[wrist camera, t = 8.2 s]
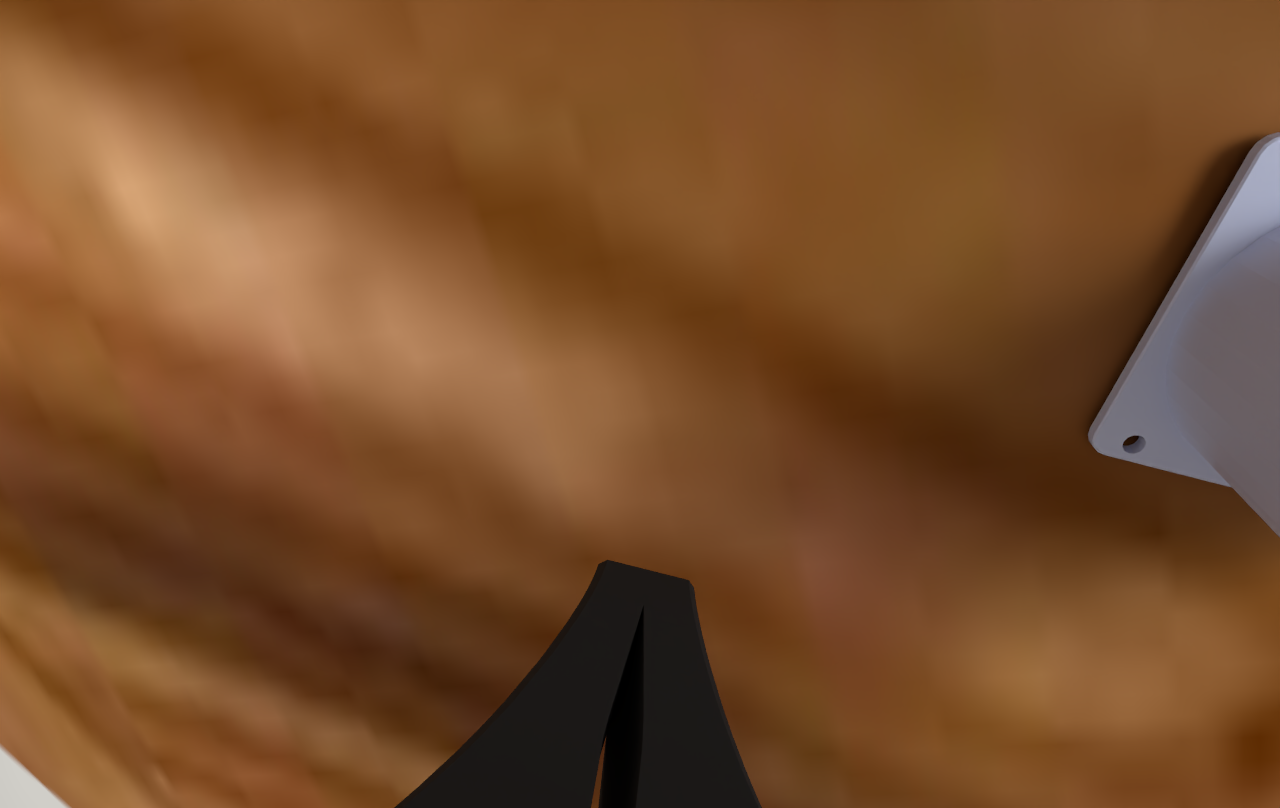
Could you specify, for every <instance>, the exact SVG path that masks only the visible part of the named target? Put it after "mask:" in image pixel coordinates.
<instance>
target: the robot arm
mask: <svg viewBox="0 0 1280 808" xmlns="http://www.w3.org/2000/svg"><path fill="white" fill-rule="evenodd" d="M1134 435H1136V436H1139V438H1138V440H1137V441H1136V442H1135V443H1134V444H1131V445H1128V446H1126V445H1123V442H1124V441H1125V440H1126V439H1127V438H1128V437H1131V436H1134ZM1088 438H1089V442H1090V443H1091V444H1092V446H1093V447H1094V448H1095V449H1096V451H1097V452H1099V453H1101V454H1103V455H1106V456H1110V457H1114V458H1118V459H1122V460H1126V461H1130V462H1134V463H1138V464H1142V465H1146V466H1150V467H1153V468H1157V469H1161V470H1165V471H1169V472H1173V473H1177V474H1181V475H1185V476H1189V477H1193V478H1197V479H1201V480H1204V481H1208V482H1212V483H1216V484H1220V485H1224V486H1228V487H1232V488H1233V489H1234V490H1235V491H1236V492H1237V493H1238V494H1239V495H1240V496H1241V497H1242V498H1243V499H1244V500H1245V502H1246V503H1247V504H1248V505H1249V506H1250V507H1251V508H1252V509H1253V510H1254V511H1255V512H1256V513H1257V514H1258V515H1259V516H1260V517H1261V518H1262V519H1263V520H1264V521H1265V523H1266V524H1267V525H1268V526H1269V527H1270V528H1271V529H1272V530H1273V531H1274V532H1275V533H1276V534H1277V535H1278V536H1279V537H1280V133H1274V134H1271V135H1267V136H1265V137H1264V138H1262V139H1261V140H1259V141H1258V142H1256V144H1255V145H1254V146H1253V147H1252V149H1251V150H1250V151H1249V153H1248V155H1247V156H1246V158H1245V160H1244V161H1243V163H1242V165H1241V167H1240V168H1239V170H1238V172H1237V174H1236V175H1235V177H1234V179H1233V181H1232V182H1231V184H1230V186H1229V187H1228V189H1227V191H1226V193H1225V194H1224V196H1223V198H1222V200H1221V201H1220V203H1219V205H1218V207H1217V208H1216V210H1215V212H1214V214H1213V215H1212V217H1211V219H1210V220H1209V222H1208V224H1207V226H1206V227H1205V229H1204V231H1203V233H1202V234H1201V236H1200V238H1199V240H1198V241H1197V243H1196V245H1195V246H1194V248H1193V250H1192V252H1191V253H1190V255H1189V257H1188V259H1187V260H1186V262H1185V264H1184V266H1183V267H1182V269H1181V271H1180V273H1179V274H1178V276H1177V278H1176V279H1175V281H1174V283H1173V285H1172V286H1171V288H1170V290H1169V292H1168V293H1167V295H1166V297H1165V299H1164V300H1163V302H1162V304H1161V305H1160V307H1159V309H1158V311H1157V312H1156V314H1155V316H1154V318H1153V319H1152V321H1151V323H1150V325H1149V326H1148V328H1147V330H1146V332H1145V333H1144V335H1143V337H1142V338H1141V340H1140V342H1139V344H1138V345H1137V347H1136V349H1135V351H1134V352H1133V354H1132V356H1131V358H1130V359H1129V361H1128V363H1127V364H1126V366H1125V368H1124V370H1123V371H1122V373H1121V375H1120V377H1119V378H1118V380H1117V382H1116V384H1115V385H1114V387H1113V389H1112V391H1111V392H1110V394H1109V396H1108V397H1107V399H1106V401H1105V403H1104V404H1103V406H1102V408H1101V410H1100V411H1099V413H1098V415H1097V417H1096V418H1095V420H1094V422H1093V423H1092V425H1091V427H1090V429H1089V432H1088ZM606 734H607V735H606ZM605 738H606V743H605V752H604V762H603V771H602V780H601V789H600V798H599V808H762V807H761V805H760V803H759V800H758V798H757V796H756V794H755V791H754V789H753V787H752V784H751V782H750V779H749V777H748V774H747V772H746V770H745V767H744V765H743V762H742V759H741V757H740V754H739V751H738V749H737V746H736V743H735V741H734V738H733V736H732V733H731V730H730V727H729V724H728V721H727V718H726V716H725V713H724V710H723V706H722V703H721V700H720V697H719V694H718V690H717V687H716V684H715V681H714V678H713V674H712V671H711V667H710V664H709V660H708V656H707V652H706V648H705V644H704V640H703V636H702V632H701V627H700V623H699V618H698V613H697V607H696V600H695V593H694V587H693V586H692V584H691V583H690V581H689V580H686V579H682V578H678V577H674V576H670V575H666V574H662V573H658V572H654V571H650V570H646V569H642V568H638V567H634V566H630V565H626V564H622V563H618V562H614V561H610V560H607V561H604V562H602V563H600V564H598V567H597V570H596V573H595V575H594V577H593V579H592V582H591V584H590V586H589V588H588V589H587V591H586V593H585V595H584V597H583V598H582V600H581V602H580V603H579V605H578V606H577V608H576V609H575V611H574V613H573V614H572V616H571V617H570V619H569V620H568V622H567V623H566V625H565V626H564V627H563V629H562V630H561V632H560V633H559V634H558V636H557V637H556V638H555V640H554V641H553V643H552V644H551V645H550V647H549V648H548V649H547V651H546V652H545V654H544V655H543V656H542V657H541V659H540V660H539V661H538V663H537V664H536V665H535V666H534V667H533V669H532V670H531V671H530V672H529V673H528V675H527V676H526V677H525V678H524V679H523V680H522V682H521V683H520V684H519V685H518V686H517V688H516V689H515V690H514V691H513V692H512V693H511V695H510V696H509V697H508V698H507V699H506V701H505V702H504V703H503V704H502V705H501V706H500V707H499V708H498V709H497V710H496V712H495V713H494V714H493V715H492V716H491V717H490V718H489V719H488V720H487V721H486V722H485V723H484V724H483V725H482V726H481V727H480V729H479V730H478V731H477V732H476V733H475V734H474V735H473V736H472V737H471V738H470V739H469V740H468V741H467V742H466V743H465V744H464V745H463V746H462V747H461V748H460V749H459V750H458V751H457V752H456V753H454V754H453V755H452V756H451V757H450V758H449V759H448V760H447V761H446V762H445V763H444V764H443V765H442V766H440V767H439V768H438V769H437V770H436V771H435V772H434V773H433V774H432V775H431V776H430V777H429V778H427V779H426V780H425V781H424V782H423V783H422V784H421V785H420V786H419V787H418V788H417V789H415V790H414V791H413V792H412V793H411V794H410V795H408V796H407V797H406V798H405V799H404V800H403V801H402V802H400V803H399V804H398V805H397V806H396V807H394V808H591V803H592V798H593V792H594V786H595V781H596V775H597V770H598V764H599V759H600V754H601V751H602V747H603V744H604V741H605Z"/></svg>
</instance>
